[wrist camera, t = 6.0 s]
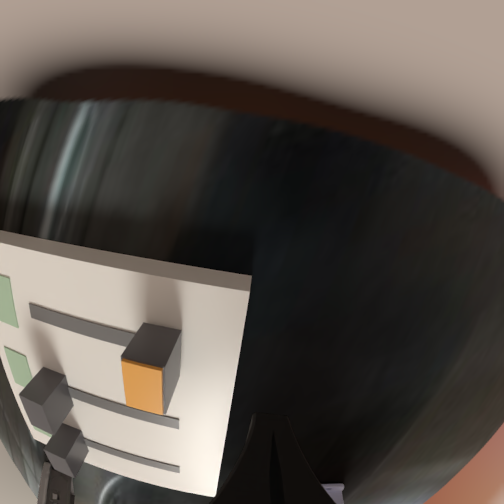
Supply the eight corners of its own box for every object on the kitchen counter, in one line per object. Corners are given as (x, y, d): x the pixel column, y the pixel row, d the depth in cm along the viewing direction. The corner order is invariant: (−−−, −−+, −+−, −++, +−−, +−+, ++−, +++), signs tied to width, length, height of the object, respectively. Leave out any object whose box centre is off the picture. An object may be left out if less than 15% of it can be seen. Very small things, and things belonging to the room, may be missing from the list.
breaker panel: (251, 275, 16) (245, 329, 11) (217, 479, 22) (210, 527, 17) (-5, 229, 16) (-58, 251, 11) (42, 425, 22) (19, 460, 17)
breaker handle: (181, 330, 15) (163, 369, 12) (179, 375, 16) (164, 417, 13) (143, 322, 15) (118, 358, 12) (144, 368, 16) (124, 406, 13)
